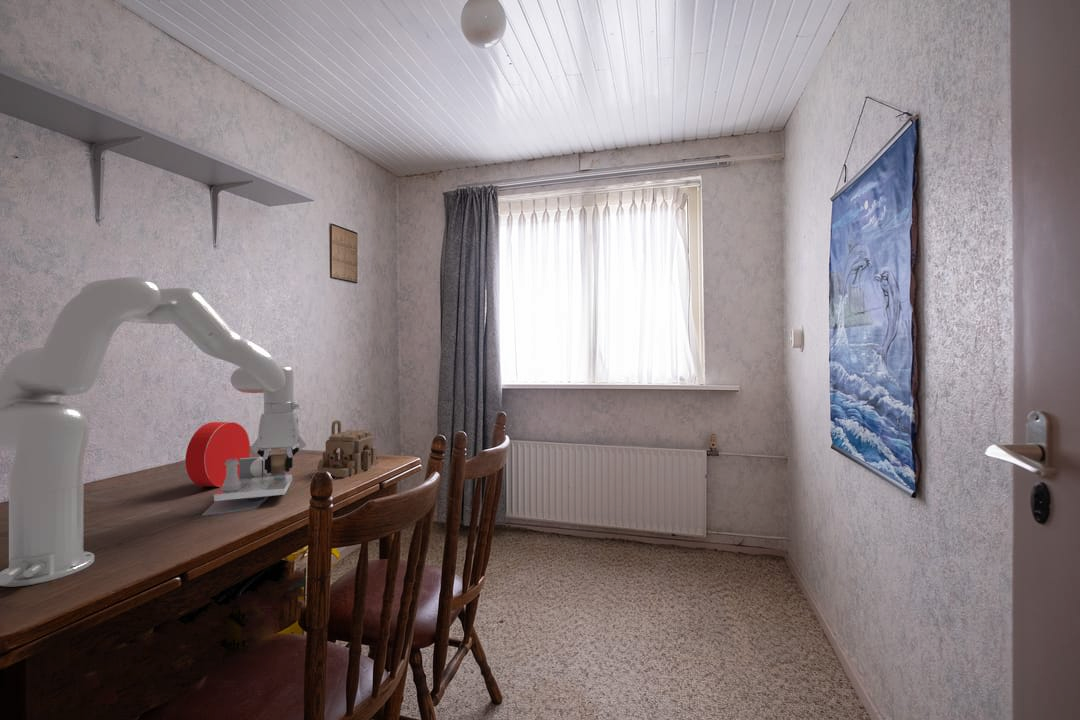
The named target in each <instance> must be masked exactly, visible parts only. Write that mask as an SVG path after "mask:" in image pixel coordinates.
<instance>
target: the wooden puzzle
mask: <svg viewBox="0 0 1080 720" xmlns="http://www.w3.org/2000/svg"><path fill="white" fill-rule="evenodd" d="M336 425H337V433H336ZM330 432H331V435H330V436H329V437H328V439H326V440H325V451H324V452H322V459H320V460H319V461H318V463H317V470H316V471H328V472H330V473H331V475H332V476H331V477H335V478H336V477H347V478H349V477H350V476H349V475H353V476H354V474H355V473H358V474H360V473H363V472H362V471H364V470H368V469H370V468H371V467H373V466H375V465H376V464H378V465H379V456H378V455H379V454H378V453H377V446H374V445H373V440H374V439H373V438H374V435H373V434H372V431H370V430H357V429H356V430H355V429H347V430H345V431H342V424H341V420H338V419H337V420H333V421H332V423H331V431H330ZM338 449H339V452H337V450H338ZM376 466H377V465H376ZM376 466H375V467H376ZM373 468H374V467H373ZM371 469H372V468H371ZM371 469H370V470H371ZM368 471H369V470H368ZM364 472H365V471H364ZM355 475H356V474H355ZM348 476H349V477H348Z"/></svg>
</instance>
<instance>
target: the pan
mask: <svg viewBox="0 0 1080 720" xmlns="http://www.w3.org/2000/svg"><path fill="white" fill-rule="evenodd" d="M239 481H241V486H242V487H241V488H240V489H239V490H236V491H230V492H225V491H223V490H222V488H223V487H220V488H219V490H217V491H216V492H215V493H214V494H213V501H214V502H215V501H220V500H231V499H241V498H248V501H258V500H262V499H264V498H265V496H269V497H272V496H273V497H274V496H280V495H283V496H284V495H286V493H287V491H288V489H289V487H290V486H291V484H292V481H293V474H286V475H280V476H268V477H256V478H243V479H240V480H239Z"/></svg>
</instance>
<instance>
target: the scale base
mask: <svg viewBox="0 0 1080 720" xmlns="http://www.w3.org/2000/svg"><path fill="white" fill-rule="evenodd" d="M280 475H287V472H286V473H281V474H270V473H267V470H265V459H263V457H261V456H258V457H249V458H240V459H239V479H243V478H256V477H268V476H280ZM269 497H270V496H265V498H264V499H262V500H258V501H248V498H241V499H231V500H220V501H214V502H213V503H212V504H211V505H210V506H209V507H208V508H207V509H206V510H204V512H203V513H202V515H201V516H202V517H207V516H212V515H219V514H228V513H235V512H243V511H244V512H245V511H251V510H257V509H258V508H259V507H260V506H261V505H262V504H263V503H264V502H265V501H267V499H268V498H269Z"/></svg>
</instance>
